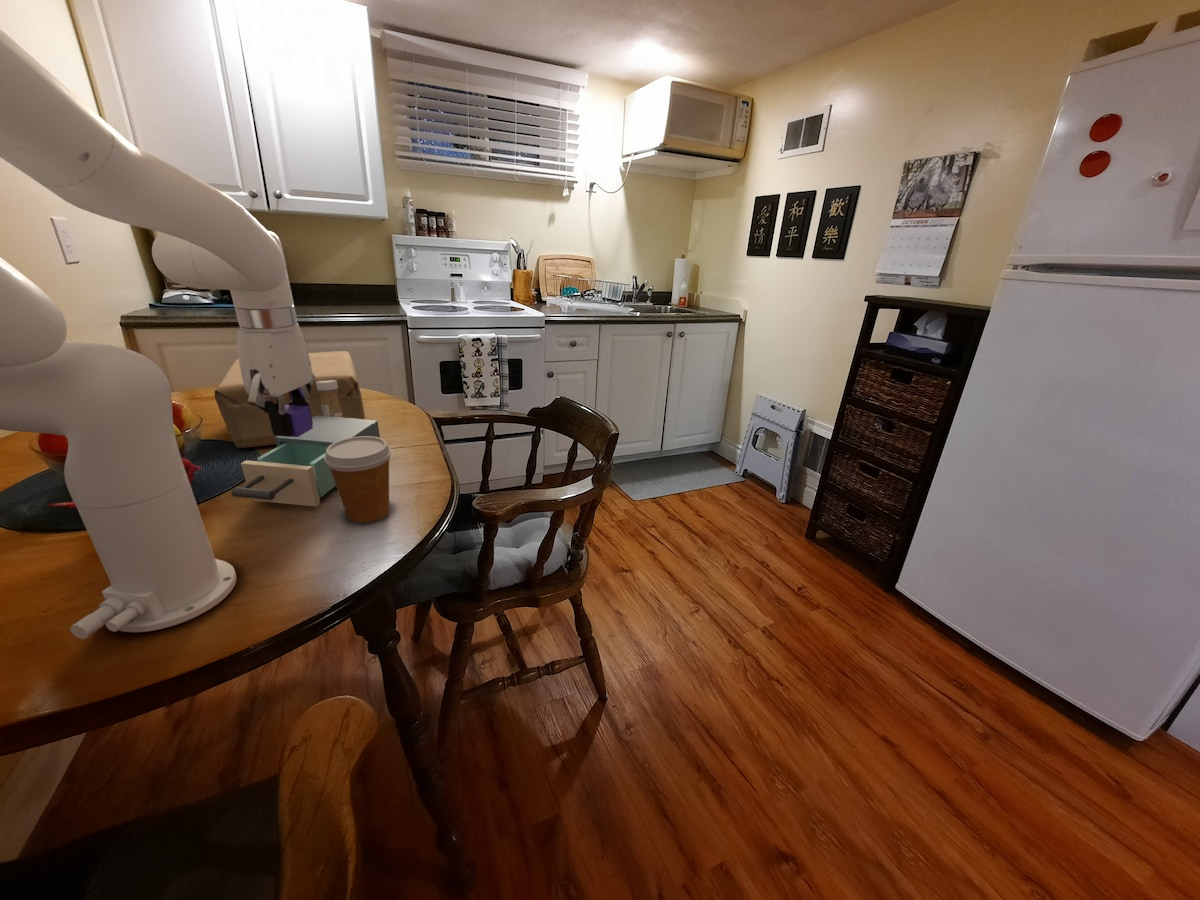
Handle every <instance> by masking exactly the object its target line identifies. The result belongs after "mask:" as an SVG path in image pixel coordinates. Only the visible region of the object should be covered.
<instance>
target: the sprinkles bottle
mask: <svg viewBox="0 0 1200 900" xmlns="http://www.w3.org/2000/svg"><path fill="white" fill-rule="evenodd" d="M316 386H317V390H319V391H318V392H319V395H320V401H321V408H322V412H323V415H324V416H331V417H342V412H341V408H340V404H339V399H338V396H339V395H338V390H337V389H338V384H337V381H336V380H327V381H317V382H316Z"/></svg>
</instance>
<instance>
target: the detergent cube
mask: <svg viewBox="0 0 1200 900" xmlns="http://www.w3.org/2000/svg"><path fill="white" fill-rule="evenodd" d="M285 413H289V416H290V420H291V424H292V428H293V433H294V435H293V436H291V437H299V436H300V435H302V434H304V433H306V432H307V431H309V430H311V429H312V428H313V426H312V421H311V417H310V412H309V407H308V406H299V405H287V404H286V405H285Z"/></svg>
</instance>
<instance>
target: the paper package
mask: <svg viewBox="0 0 1200 900" xmlns="http://www.w3.org/2000/svg"><path fill="white" fill-rule="evenodd" d="M308 354H309V358H310V362H311V367H312V373H313V374H314V375H315V380H314V382H313V384H312V386H311V390H310V393H309V396H310V401H309V402H307V403H309V408H310V413H311V417H314V416H316V415H320V416H324V415H323V412H322V408H321V401H320V395H319V392H318V391H319V390H317V386H316V382H317V381H327V380H336V381H337V384H338V389H337V390H338V395H339V396H338V399H339V404H340V408H341V412H342V417H343V418H355V419H366V417H365V411H364V403H363V397H362V392H361V388H360V383H359V379H358V375H357V371H356V370H357V369H356V367H355V364H354V361H353V358H352V356H351V353H350V352H349V351H347V350H340V351H339V350H337V351H336V350H335V351H322V352H321V351H319V352H308ZM295 390H296V389H295ZM248 397H249V394H247V392H246V390H245V387H244V384H243V379H242V375H241V370H240V364H239V358H236V359H235V361H234V362H233V363H232V365H231V366H230V367H229V368H228V371H227V372H226V374H225V375H224V377H223V378H222V380H221V382H220V383H219V385H218V386H217V388H216V389H215V390H214V399H215V402H216V404H217V407H218V410H219V412H220V414H221V417H222V419H223V422H224V423H225V426H226V428H227V431H228V433H229V436H230V438H231V439H232V441H233V444H234V445H235V447H236V448H238V449H248V448H255V447H265V446H275V445H277V444H276V440H275V437H276V435H274V434H273V431H272V427H271V423H270V419H269V415H268V414H267V413H265V412H264V410H262V409H261V408H259V407H257V406H253V405H250V404H249V403H248ZM271 401H272V402H273V403H275V404H276V399H275V398H271ZM284 401H285V405H286V404H287V405H289V402H293V401H291V399H290V397H289V394H288V393H286V394H284Z"/></svg>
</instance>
